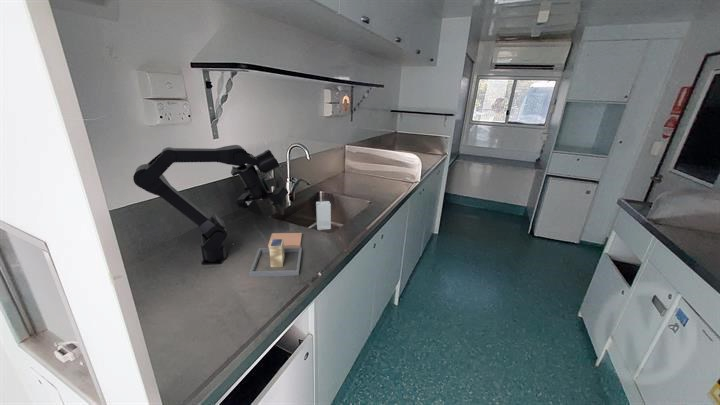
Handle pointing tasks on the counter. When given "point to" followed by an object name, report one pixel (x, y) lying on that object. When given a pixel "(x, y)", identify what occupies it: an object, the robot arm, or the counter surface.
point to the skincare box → (323, 215)
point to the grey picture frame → (275, 273)
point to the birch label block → (276, 252)
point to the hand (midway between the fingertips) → (272, 215)
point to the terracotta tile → (288, 239)
